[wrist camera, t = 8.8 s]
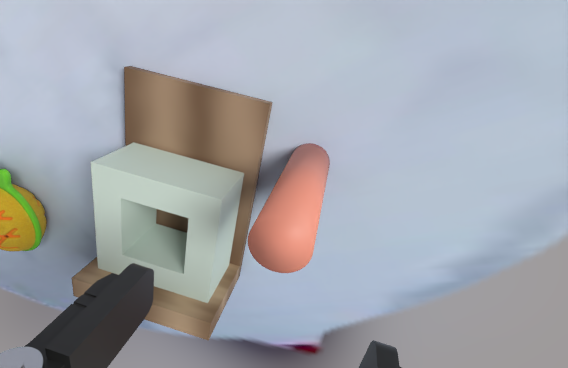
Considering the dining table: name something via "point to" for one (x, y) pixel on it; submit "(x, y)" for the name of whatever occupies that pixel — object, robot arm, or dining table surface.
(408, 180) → the dining table surface
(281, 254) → the dowel
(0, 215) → the toy pineapple
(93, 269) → the jig
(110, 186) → the block
